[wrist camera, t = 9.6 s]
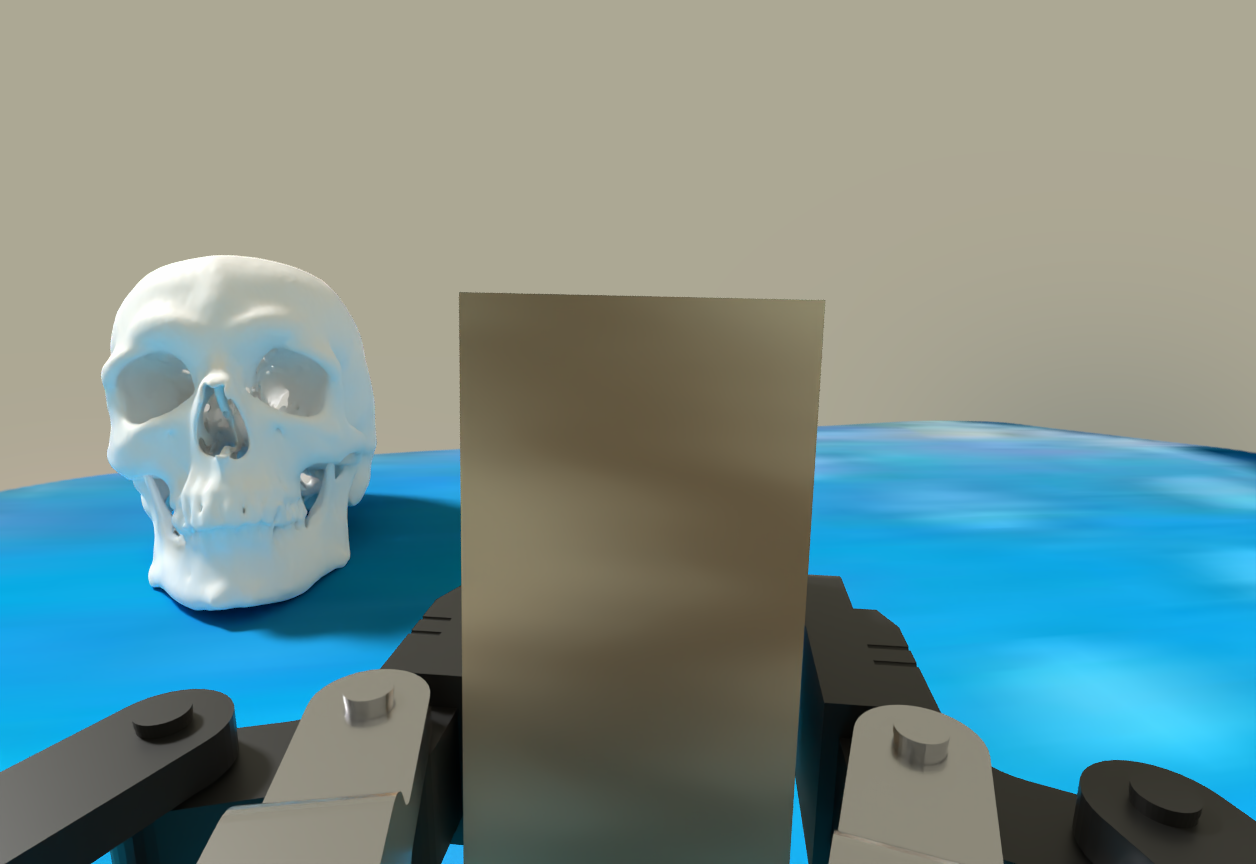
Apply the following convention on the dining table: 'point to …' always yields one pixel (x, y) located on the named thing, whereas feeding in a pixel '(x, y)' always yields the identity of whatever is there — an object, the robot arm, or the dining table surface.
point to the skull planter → (240, 426)
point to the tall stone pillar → (634, 574)
